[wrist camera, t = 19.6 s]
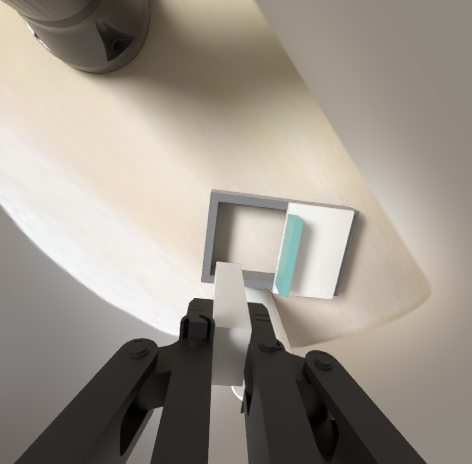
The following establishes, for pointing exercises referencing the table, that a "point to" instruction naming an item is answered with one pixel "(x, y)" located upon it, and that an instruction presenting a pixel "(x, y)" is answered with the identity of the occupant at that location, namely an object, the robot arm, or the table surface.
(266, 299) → the cup
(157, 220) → the table surface
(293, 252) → the cover
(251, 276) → the grey shallow rectangular tray
